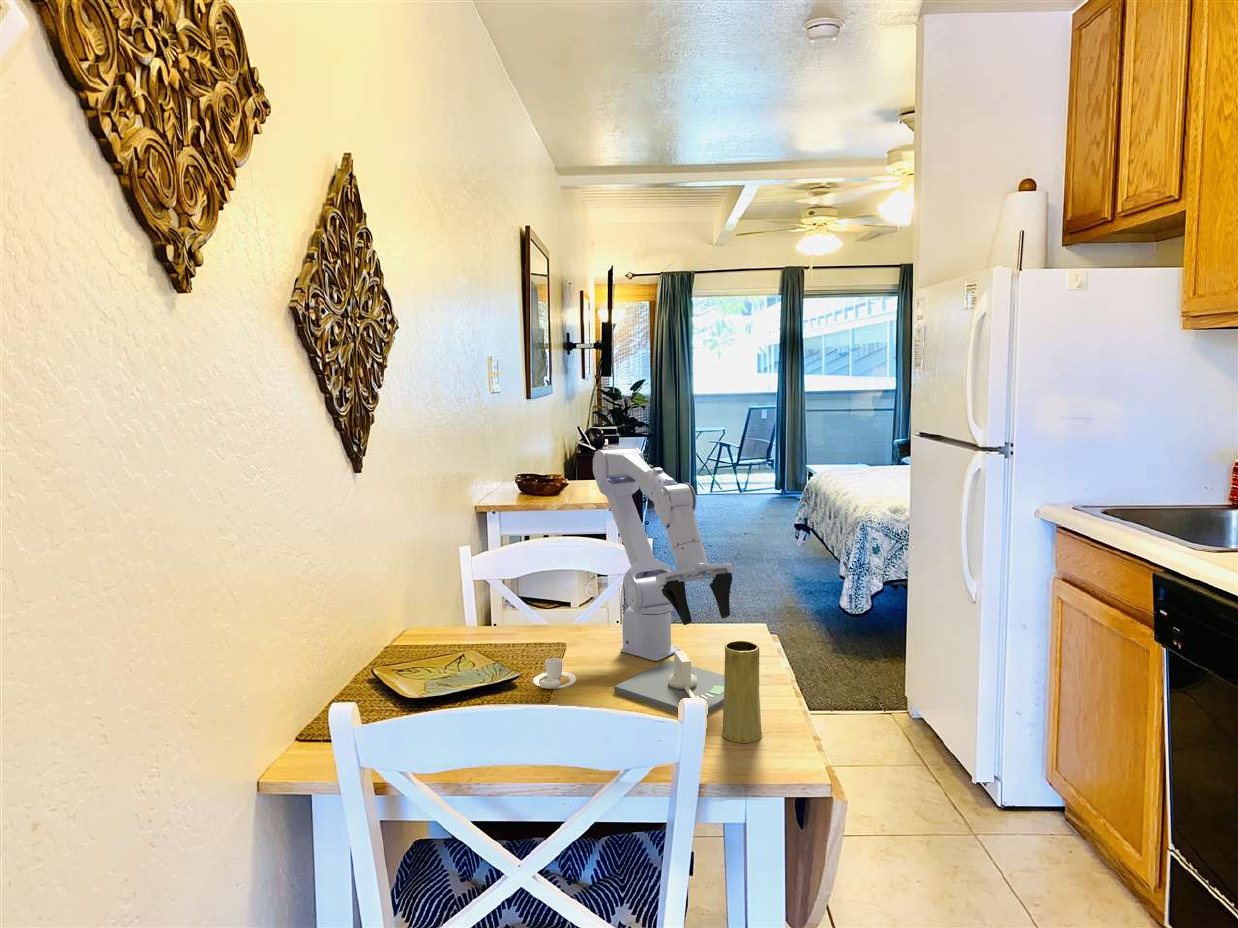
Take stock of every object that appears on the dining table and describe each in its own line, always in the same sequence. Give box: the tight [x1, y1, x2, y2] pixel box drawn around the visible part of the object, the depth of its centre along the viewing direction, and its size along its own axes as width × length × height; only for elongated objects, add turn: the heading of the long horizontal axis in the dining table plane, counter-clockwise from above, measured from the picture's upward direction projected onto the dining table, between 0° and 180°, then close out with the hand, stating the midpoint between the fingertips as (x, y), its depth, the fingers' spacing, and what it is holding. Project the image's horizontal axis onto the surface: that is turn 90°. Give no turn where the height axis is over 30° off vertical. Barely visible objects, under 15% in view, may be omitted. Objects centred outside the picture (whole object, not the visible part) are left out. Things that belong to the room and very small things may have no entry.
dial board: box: [613, 659, 724, 716], centre depth 140 cm, size 18×16×1 cm
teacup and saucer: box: [532, 657, 577, 690], centre depth 146 cm, size 9×8×4 cm
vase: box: [721, 639, 762, 744], centre depth 122 cm, size 6×6×14 cm
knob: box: [668, 649, 697, 698], centre depth 137 cm, size 11×5×5 cm, turn 10°
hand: (707, 620), depth 139 cm, fingers open, 7 cm apart
